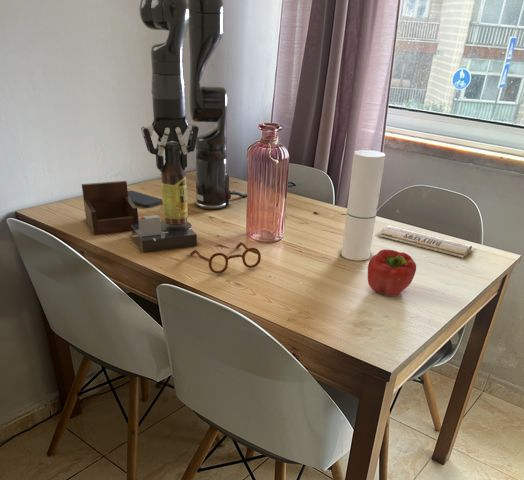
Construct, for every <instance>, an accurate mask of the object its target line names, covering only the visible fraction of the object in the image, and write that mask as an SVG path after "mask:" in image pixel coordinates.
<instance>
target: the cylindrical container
mask: <svg viewBox="0 0 524 480" xmlns="http://www.w3.org/2000/svg"><path fill="white" fill-rule="evenodd" d="M385 159H386V153H385V152H382V151H379V150H373V149H358V150H354V152H353V158H352V166H351V175H350V183H349V191H348V198H347V207H346V213H345V214H346V215H345V223H344V231H343V232H344V233H343V238H342V246H341V256H342V257H343V258H345V259H347V260H349V261H350V260H351V261H366V260H369V259H370V258H371V250H372V244H373V238H374V237H373V236H374V232H375V231H374V230H375V224H376V218H377V212H378V205H379V199H380V192H381V187H382V179H383V172H384V166H385Z"/></svg>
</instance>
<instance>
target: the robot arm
mask: <svg viewBox="0 0 524 480" xmlns="http://www.w3.org/2000/svg"><path fill="white" fill-rule="evenodd" d="M224 9H225V7H224V1H223V0H140V2H139V9H138V10H139V16H140V20H141V22H142V24H143V25H144V26H145V27H146V28H147V29H149V30H153V31H165V32H166V31H167V32H168V35H167V38H166V40H165V41H163V42H158V43H154V44H153V45H152V46H151V47H150V63H151V97H152V114H153V120H152V123H151V125H147V126H142V127H141V128H140V130H141V133H142V137H143V140H144V144H145V146H146V149H147V151H148V152H149V153H150V154H151V155H155V164H156V168H157V170H159V171H160V173H161V172H164V164H165V158H164V155H163V153H164V152H165V150H164V147H165V146H166V142H170V141H175V142H178V143H179V144H180V147H181V148H180V159H181V164H182V168H183V170H184V171H185V170H186V168H187V167H188V154H189V153H192V152H194V157H195V158H194V159H195V160H194V161H195V162H194V163H195V205H196V206H197V208H201V209H204V210H220V209H224V208H226V207H230V200H231V199H232V195H234V196H238V197H241V198H247V197H248V196H247V193H241V192H238V191H231V190H230V175H229V174H228V173H227V172H228V170H227V169H228V168H227V162H228V156H227V155H228V153H227V152H228V151H227V150H228V135H227V134H228V132H227V131H228V112H229V95H228V92H227V89H226V87H224V86H210V85H204V86H203V85H201V82H202V78H203V74H204V71H205V69H206V67H207V65H208V62H209V61H210V59H211V57H212V56H213V54H214V52H215V51H216V49H217V47H218V45H219V44H220V42H221V40H222V38H223V34H224V25H225V24H224V21H225V19H224V18H225V16H224V15H225V13H224V11H225V10H224ZM187 35H188V55H189V57H188V59H189V66H188V67H189V68H188V69H189V70H188V71H189V74H188V75H189V76H188V77H189V79H188V113H189V117H190V120H191V121H192V122H195V123H215V125H214V126H213V127H212V128H211V129H209V130H207V131H205V132H202V133H200V134H199V131H200V130H199V127H198V125H196V124H189V123H188V121H187V117H186V116H187V115H186V112H187V111H186V87H185V79H184V78H185V77H184V57H183V55H184V49H185V41H186V36H187ZM153 131H154V132H155V134H156V135H157V138H156V139H157V140H156V146H154V143H153V140H152V137H153ZM186 131H187V134H188V138H187V144H186V142H185V139H184V137H183V136H184V135H185V133H186ZM287 181H288V184H287V185H293V186H295V187H297V183H296V182H295V181H293V180H287Z"/></svg>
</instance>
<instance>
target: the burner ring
mask: <svg viewBox="0 0 524 480" xmlns="http://www.w3.org/2000/svg"><path fill="white" fill-rule="evenodd" d="M160 222H161V223H160V224H161V230H163V231H167V232H182V231H186V230H189V229H190V228H191V229H192V224H191V222H189V221H187V222H186V223H185V224H182V225H168V224H166V223H165V221H164V220H163V221H160Z"/></svg>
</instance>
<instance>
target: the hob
mask: <svg viewBox="0 0 524 480" xmlns="http://www.w3.org/2000/svg"><path fill="white" fill-rule="evenodd" d="M161 222H162V221H160V223H161ZM130 232H131V233H130V234H131V237H132V239H133V240H134V241H135V243H136V245H137V246H138V247H139V249H140V250H141V251H142V253H149V252H156V251H165V250H172V249H180V248H181V249H182V248H188V247H197V246H198V236H197V233H196V232H195V231H194V229H192V227H191V228H190V229H189V230H186V231H182V232H167V231H163V230H161V235H153V236H145V237H141V235H140V232H139V224H135V225H131V230H130Z"/></svg>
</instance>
